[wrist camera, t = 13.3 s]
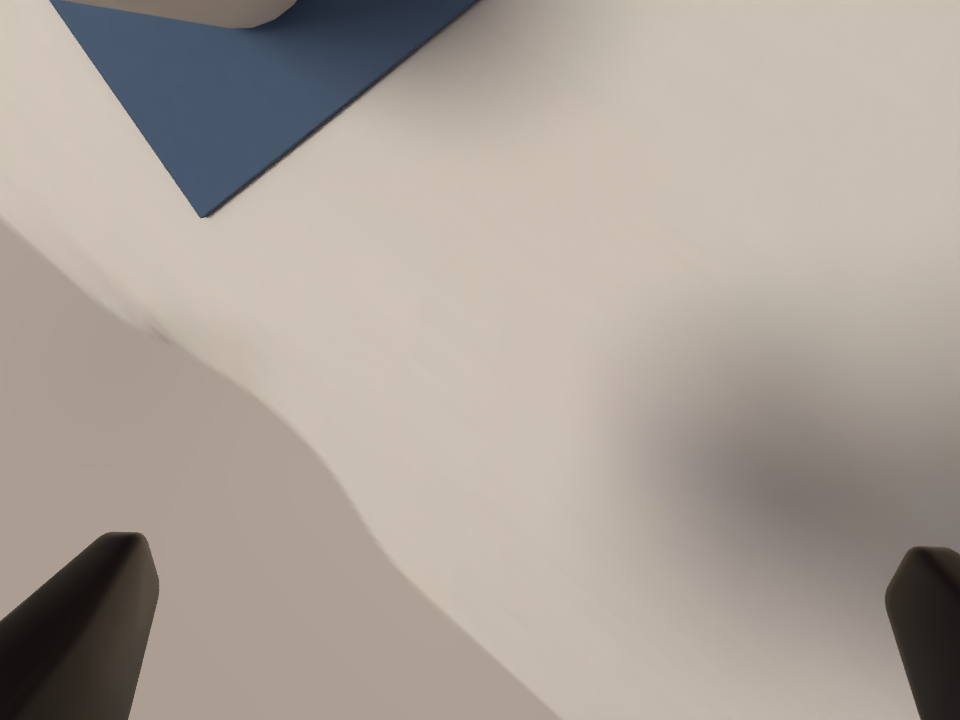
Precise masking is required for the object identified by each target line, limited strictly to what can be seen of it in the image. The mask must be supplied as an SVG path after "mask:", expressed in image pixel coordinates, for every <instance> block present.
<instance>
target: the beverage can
mask: <svg viewBox="0 0 960 720" xmlns="http://www.w3.org/2000/svg"><path fill="white" fill-rule="evenodd" d="M64 1H70V2H75V3H81V4H87V5H93V6H99V7H105V8H111V9H117V10H123V11H129V12H135V13H141V14H147V15H153V16H159V17H164V18H170V19H176V20H182V21H188V22H194V23H200V24H206V25H212V26H218V27H224V28H253V27H256V26H259V25H261V24H264V23H267V22H269V21H272V20H274V19H276V18H277V17H278V16H280V15H281V14H282V13H284V12H285V11H286V10H287V9H289V8H290V7H291V6H293V5H294V4H295V2H296V1H297V0H64Z"/></svg>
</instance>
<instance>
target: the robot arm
mask: <svg viewBox="0 0 960 720" xmlns="http://www.w3.org/2000/svg"><path fill="white" fill-rule="evenodd" d="M158 595H159V579H158V575H157V572H156V568H155V565H154V562H153V558H152V555H151V551H150V548H149V545H148V542H147V539H146V538H145V536H144V535H142V534H141V533H137V532H109V533H106V534H104V535H102V536H100V537H99V538H98V539H96V540H95V541H94V542H93V543H92V544H90V545H89V546H88V547H87V548H86V549H85V550H83V551H82V552H81V553H80V554H79V555H78V556H77V557H75V558H74V559H73V560H72V561H71V562H69V563H68V564H67V565H66V566H65V567H64V568H62V569H61V570H60V571H59V572H58V573H56V574H55V575H54V576H53V577H52V578H50V579H49V580H48V581H47V582H46V583H45V584H43V585H42V586H41V587H40V588H39V589H38V590H36V591H35V592H34V593H33V594H32V595H31V596H30V597H28V598H27V599H26V600H25V601H23V602H22V603H21V604H20V605H19V606H18V607H17V608H15V609H14V610H13V611H12V612H10V613H9V614H8V615H7V616H6V617H5V618H3V619H2V620H1V621H0V720H128V717H129V714H130V710H131V706H132V702H133V698H134V694H135V690H136V686H137V682H138V678H139V674H140V670H141V666H142V661H143V657H144V653H145V649H146V645H147V641H148V637H149V633H150V629H151V625H152V621H153V617H154V612H155V609H156V604H157V600H158ZM885 605H886V610H887V614H888V617H889V620H890V623H891V627H892V630H893V633H894V636H895V639H896V643H897V646H898V649H899V652H900V655H901V659H902V662H903V665H904V668H905V671H906V675H907V678H908V681H909V684H910V687H911V691H912V694H913V697H914V700H915V703H916V706H917V710H918V713H919V716H920V719H921V720H960V555H959V554H958V553H956V552H955V551H953V550H951V549H949V548H946V547H928V546H917V547H913V548H912V549H910V550H909V551H908V552H907V553H906V554H905V556H904V558H903V560H902V562H901V563H900V565H899V567H898V569H897V571H896V572H895V574H894V576H893V578H892V580H891V582H890V583H889V585H888V587H887V590H886V594H885Z"/></svg>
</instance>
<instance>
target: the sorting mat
mask: <svg viewBox="0 0 960 720" xmlns="http://www.w3.org/2000/svg"><path fill="white" fill-rule="evenodd" d="M476 1H477V0H297V1H296V2H295V4H294V5H293V6H291V7H290V8H289V9H287V10H286V11H285V12H284V13H282V14H281V15H280V16H278V17H277V18H276V19H274V20H272V21H269V22H267V23H264V24H261V25H259V26H256V27H253V28H224V27H218V26H212V25H206V24H200V23H194V22H188V21H182V20H176V19H170V18H164V17H159V16H153V15H147V14H141V13H135V12H129V11H123V10H117V9H111V8H105V7H99V6H93V5H87V4H81V3H75V2H70V1H64V0H50V2H51V3H52V5H53V6H54V8H55V9H56V11H57V12H58V13H59V15H60V16H61V18H62V19H63V21H64V22H65V24H66V25H67V26H68V28H69V29H70V31H71V32H72V34H73V35H74V36H75V38H76V39H77V41H78V42H79V44H80V45H81V47H82V48H83V49H84V51H85V52H86V54H87V55H88V57H89V58H90V60H91V61H92V62H93V64H94V65H95V67H96V68H97V70H98V71H99V73H100V74H101V75H102V77H103V78H104V80H105V81H106V83H107V84H108V86H109V87H110V88H111V90H112V91H113V93H114V94H115V96H116V97H117V99H118V100H119V101H120V103H121V104H122V106H123V107H124V109H125V110H126V111H127V113H128V114H129V116H130V117H131V119H132V120H133V122H134V123H135V124H136V126H137V127H138V129H139V130H140V132H141V133H142V135H143V136H144V137H145V139H146V140H147V142H148V143H149V145H150V146H151V148H152V149H153V150H154V152H155V153H156V155H157V156H158V158H159V159H160V161H161V162H162V163H163V165H164V166H165V168H166V169H167V171H168V172H169V174H170V175H171V176H172V178H173V179H174V181H175V182H176V184H177V185H178V186H179V188H180V189H181V191H182V192H183V194H184V195H185V197H186V198H187V199H188V201H189V202H190V204H191V205H192V207H193V208H194V210H195V211H196V212H197V214H198V215H199V217H200V218H205V217H206V216H207V215H208V214H210V213H211V212H212V211H213V210H215V209H216V208H217V207H218V206H220V205H221V204H222V203H224V202H225V201H226V200H227V199H229V198H230V197H231V196H232V195H234V194H235V193H236V192H237V191H239V190H240V189H241V188H242V187H244V186H245V185H246V184H247V183H249V182H250V181H251V180H252V179H254V178H255V177H256V176H257V175H259V174H260V173H261V172H262V171H264V170H265V169H266V168H267V167H269V166H270V165H271V164H273V163H274V162H275V161H276V160H278V159H279V158H280V157H281V156H283V155H284V154H285V153H286V152H288V151H289V150H290V149H291V148H293V147H294V146H295V145H296V144H298V143H299V142H300V141H301V140H303V139H304V138H305V137H306V136H308V135H309V134H310V133H311V132H313V131H314V130H315V129H316V128H318V127H319V126H320V125H322V124H323V123H324V122H325V121H327V120H328V119H329V118H330V117H332V116H333V115H334V114H335V113H337V112H338V111H339V110H340V109H342V108H343V107H344V106H345V105H347V104H348V103H349V102H350V101H352V100H353V99H354V98H355V97H357V96H358V95H359V94H360V93H362V92H363V91H364V90H366V89H367V88H368V87H369V86H371V85H372V84H373V83H374V82H376V81H377V80H378V79H379V78H381V77H382V76H383V75H384V74H386V73H387V72H388V71H389V70H391V69H392V68H393V67H394V66H396V65H397V64H398V63H399V62H401V61H402V60H403V59H404V58H406V57H407V56H408V55H409V54H411V53H412V52H413V51H415V50H416V49H417V48H418V47H420V46H421V45H422V44H423V43H425V42H426V41H427V40H428V39H430V38H431V37H432V36H433V35H435V34H436V33H437V32H438V31H440V30H441V29H442V28H443V27H445V26H446V25H447V24H448V23H450V22H451V21H452V20H453V19H455V18H456V17H457V16H458V15H460V14H461V13H462V12H464V11H465V10H466V9H467V8H469V7H470V6H471V5H472V4H474V3H475V2H476Z"/></svg>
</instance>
